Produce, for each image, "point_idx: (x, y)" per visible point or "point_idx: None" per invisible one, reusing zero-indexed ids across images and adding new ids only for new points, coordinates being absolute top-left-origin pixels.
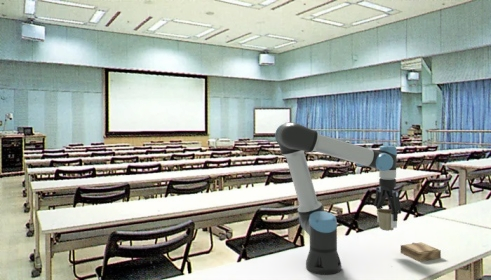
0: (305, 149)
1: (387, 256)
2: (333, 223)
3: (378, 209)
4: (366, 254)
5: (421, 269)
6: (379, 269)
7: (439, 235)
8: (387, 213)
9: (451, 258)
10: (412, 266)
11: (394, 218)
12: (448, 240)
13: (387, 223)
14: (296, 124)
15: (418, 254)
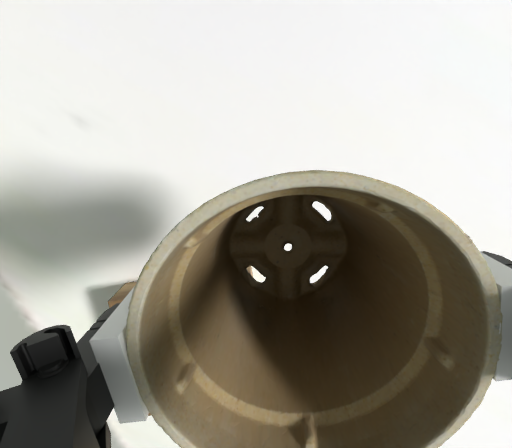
0: None
1: (212, 171)
2: None
3: (488, 279)
4: (264, 65)
5: (32, 240)
6: (35, 28)
7: None
8: (398, 372)
9: (146, 419)
10: (69, 221)
11: (102, 324)
12: None
13: (213, 241)
14: None
15: (114, 298)
